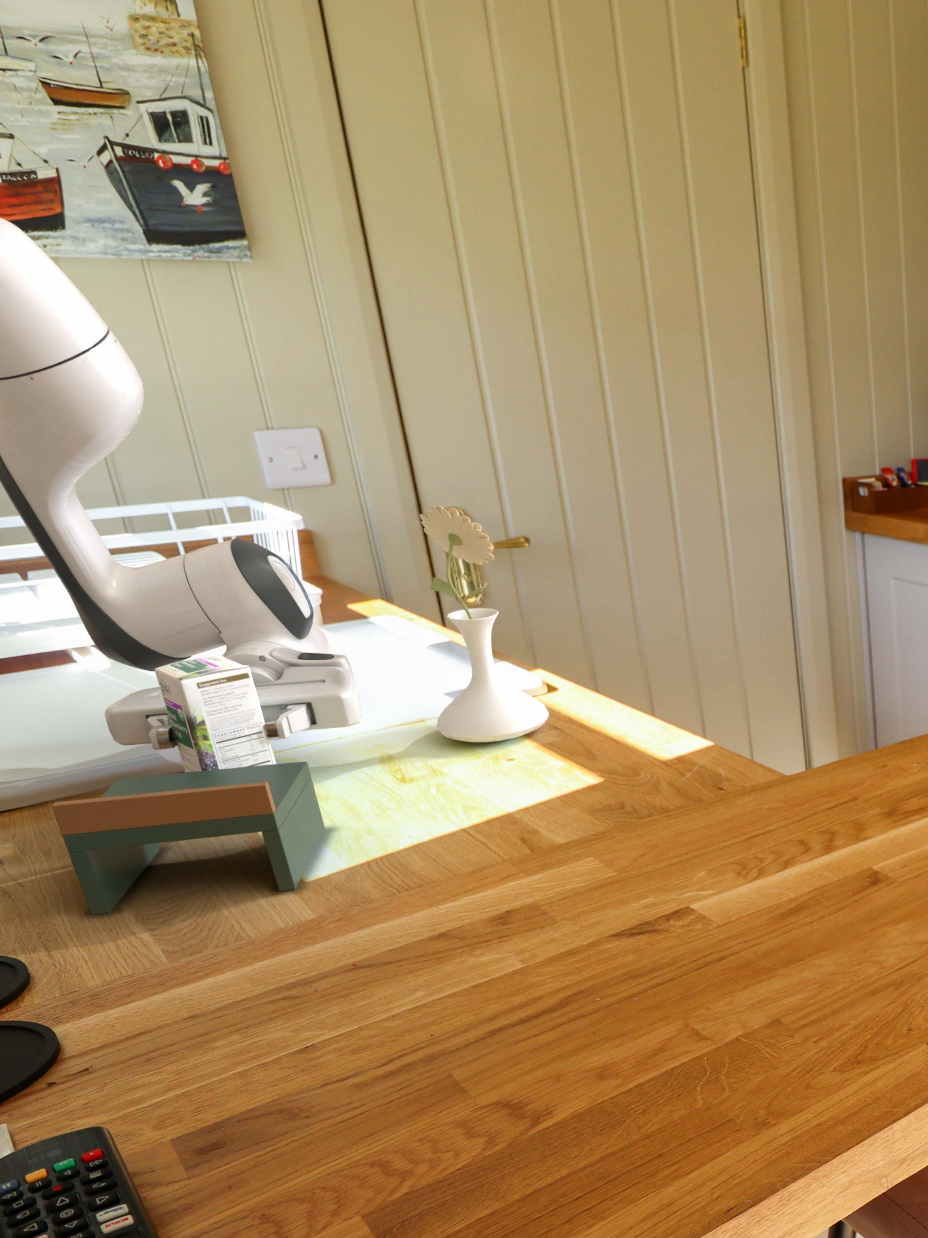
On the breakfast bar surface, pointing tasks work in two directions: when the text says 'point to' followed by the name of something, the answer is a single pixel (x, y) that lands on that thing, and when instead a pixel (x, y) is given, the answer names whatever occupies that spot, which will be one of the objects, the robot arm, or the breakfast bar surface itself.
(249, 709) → the syrup box
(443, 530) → the flower in vase
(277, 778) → the shelf
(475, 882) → the breakfast bar surface
